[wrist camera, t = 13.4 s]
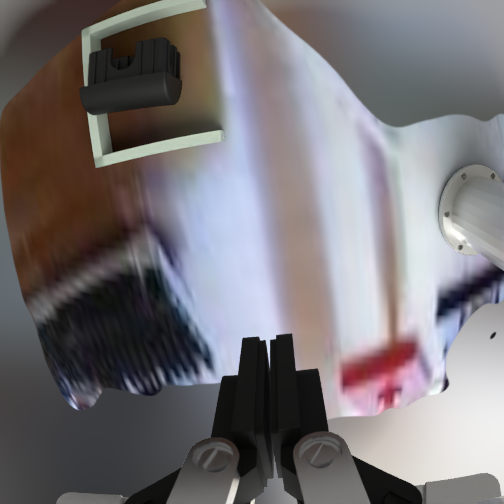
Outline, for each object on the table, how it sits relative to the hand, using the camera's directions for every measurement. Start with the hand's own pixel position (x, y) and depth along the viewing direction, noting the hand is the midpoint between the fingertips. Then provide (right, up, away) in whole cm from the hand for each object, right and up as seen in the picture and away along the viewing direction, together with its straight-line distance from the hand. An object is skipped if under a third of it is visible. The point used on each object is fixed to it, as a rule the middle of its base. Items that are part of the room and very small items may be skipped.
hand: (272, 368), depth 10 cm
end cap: (-13, +24, +21) cm, 34 cm away
